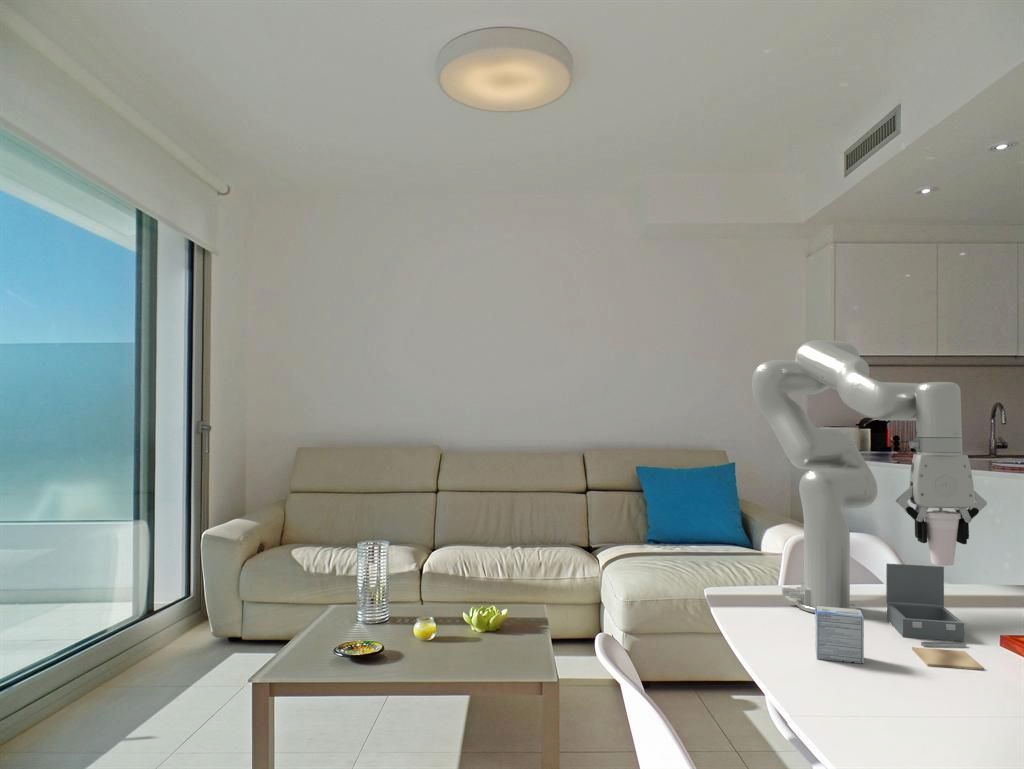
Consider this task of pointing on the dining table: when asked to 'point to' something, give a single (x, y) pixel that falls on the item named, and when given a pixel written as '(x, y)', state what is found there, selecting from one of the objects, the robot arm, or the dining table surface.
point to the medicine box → (839, 634)
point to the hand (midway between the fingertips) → (941, 541)
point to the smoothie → (942, 535)
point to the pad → (947, 658)
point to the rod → (943, 644)
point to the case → (920, 603)
